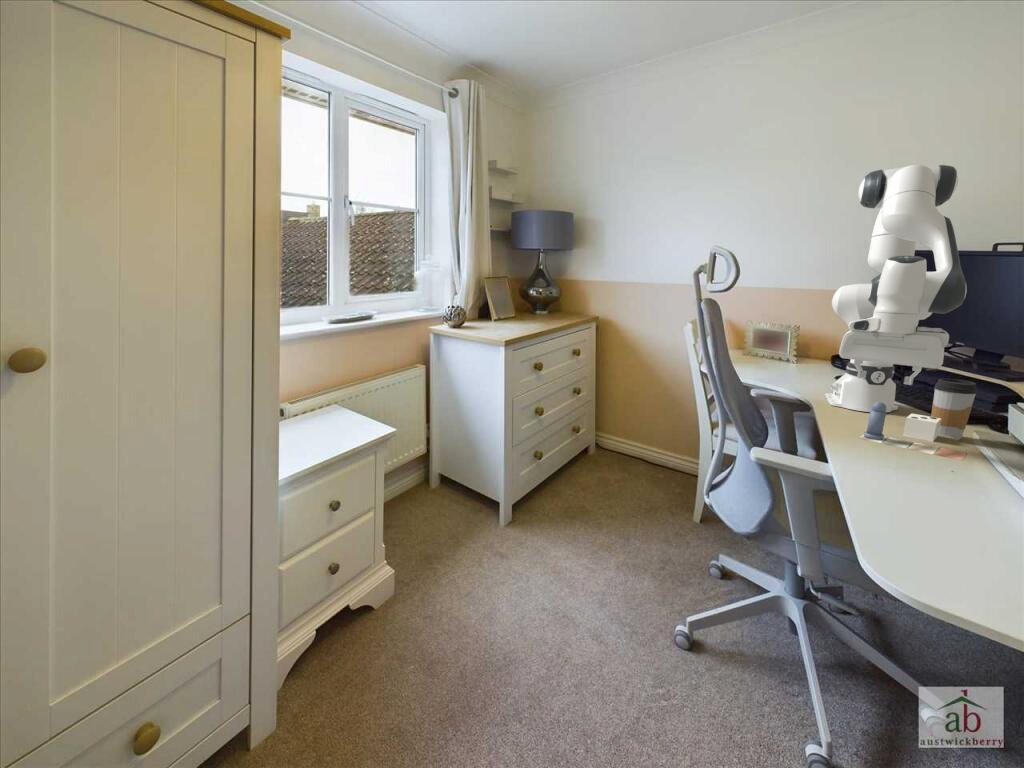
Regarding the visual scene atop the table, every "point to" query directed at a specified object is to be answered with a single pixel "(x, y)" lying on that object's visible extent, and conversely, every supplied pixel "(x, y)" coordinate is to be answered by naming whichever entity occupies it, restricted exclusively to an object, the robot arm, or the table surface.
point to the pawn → (876, 421)
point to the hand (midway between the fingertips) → (883, 381)
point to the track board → (920, 447)
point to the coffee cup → (953, 405)
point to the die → (922, 427)
